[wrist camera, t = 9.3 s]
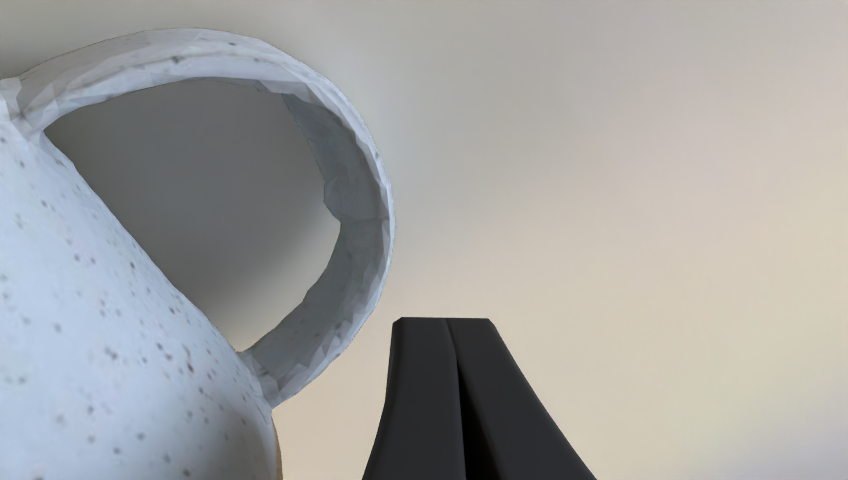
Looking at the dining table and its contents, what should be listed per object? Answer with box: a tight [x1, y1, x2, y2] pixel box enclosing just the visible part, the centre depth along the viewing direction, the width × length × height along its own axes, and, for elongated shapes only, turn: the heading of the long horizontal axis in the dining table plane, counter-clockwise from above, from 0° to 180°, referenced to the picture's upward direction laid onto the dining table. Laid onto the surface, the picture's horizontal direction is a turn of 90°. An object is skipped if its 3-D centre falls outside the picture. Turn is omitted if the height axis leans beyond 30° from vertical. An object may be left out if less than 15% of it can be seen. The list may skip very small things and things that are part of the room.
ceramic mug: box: [0, 28, 396, 480], centre depth 10 cm, size 11×8×8 cm
